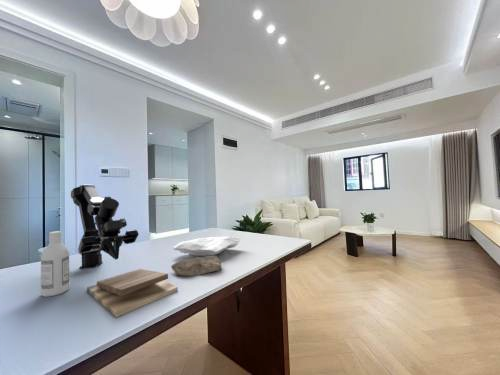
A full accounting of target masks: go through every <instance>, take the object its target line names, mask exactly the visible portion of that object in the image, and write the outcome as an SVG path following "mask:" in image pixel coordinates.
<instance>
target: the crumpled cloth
mask: <svg viewBox="0 0 500 375" xmlns="http://www.w3.org/2000/svg"><path fill="white" fill-rule="evenodd" d="M240 241H241V238H240V237H236V236H207V237H200V238H195V239H191V240H186V241H185V240H184V241H181V242H179V243H178V244H175V245H174V246H173V247H172V249H173V250H174V251H178V252H180V253H183V254H188V255H190V256H198V257H206V256H216V255H217V254H219V253H221V252H223V251H225V250H229V249H232V248H235V247H236V246H238V245H239V243H240Z"/></svg>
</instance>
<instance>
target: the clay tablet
mask: <svg viewBox="0 0 500 375" xmlns="http://www.w3.org/2000/svg"><path fill="white" fill-rule="evenodd" d="M170 268H171V269H172V271H174V273H175V275H177V276H182V277H194V276H199V275H206V274H209V273H214V272H218V271H220V270H221V269H222V264H221V259H219V256H217V255H211V256H198V257H193V258H186V259H182V260H179V261H177V262H175V263H173V264H172V265H171V267H170Z"/></svg>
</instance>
